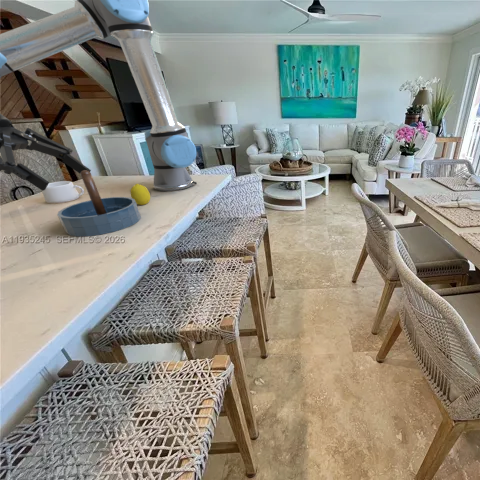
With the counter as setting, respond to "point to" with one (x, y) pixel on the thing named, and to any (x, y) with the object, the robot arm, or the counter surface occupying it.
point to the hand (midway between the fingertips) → (68, 179)
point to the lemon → (140, 194)
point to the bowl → (99, 217)
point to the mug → (61, 192)
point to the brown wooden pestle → (93, 192)
